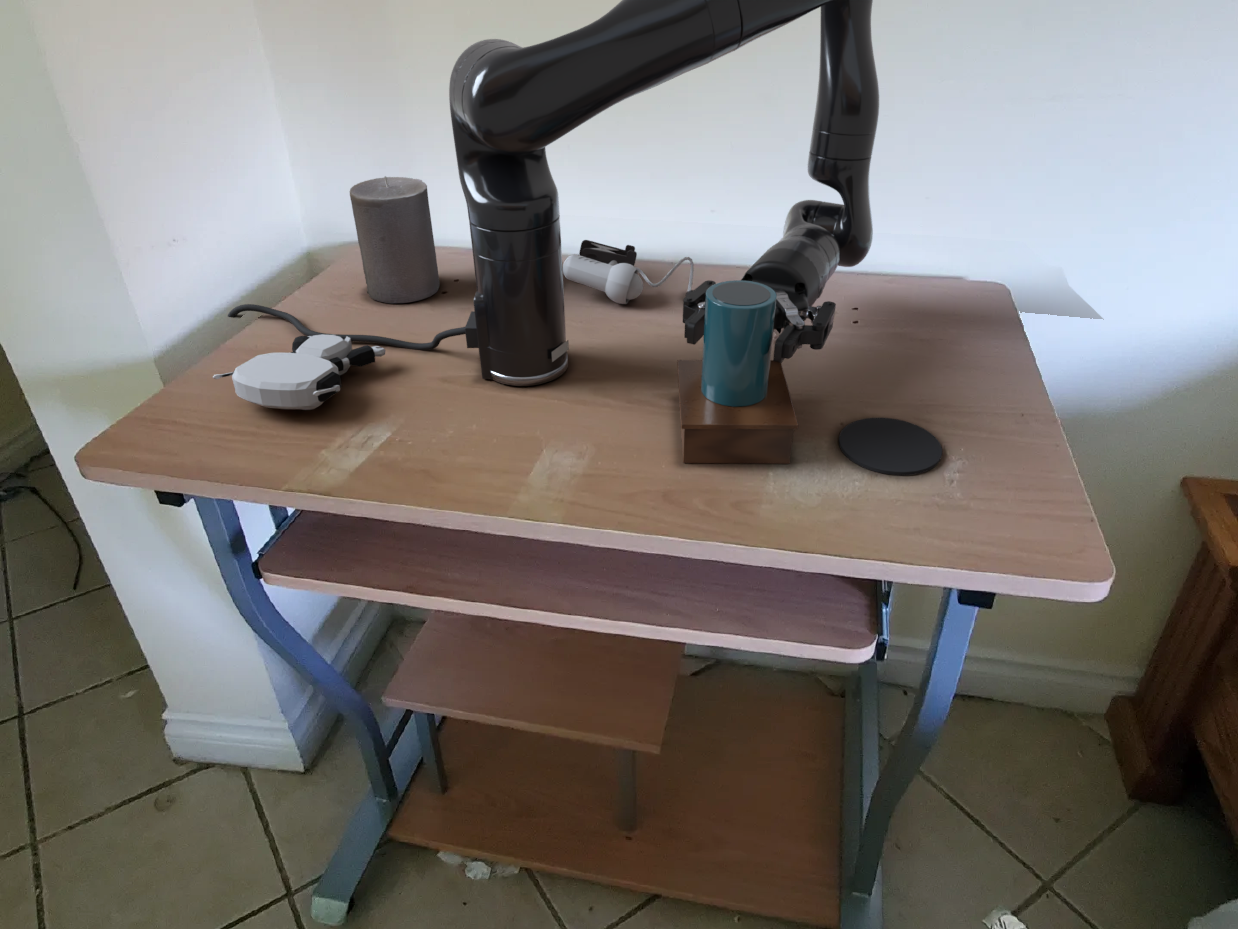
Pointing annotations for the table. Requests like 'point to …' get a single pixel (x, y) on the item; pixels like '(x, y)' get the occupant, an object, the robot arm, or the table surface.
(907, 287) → the table surface
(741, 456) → the riser
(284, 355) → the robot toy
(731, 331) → the tumbler
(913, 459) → the coaster
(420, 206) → the pillar candle
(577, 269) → the clip-on lamp
